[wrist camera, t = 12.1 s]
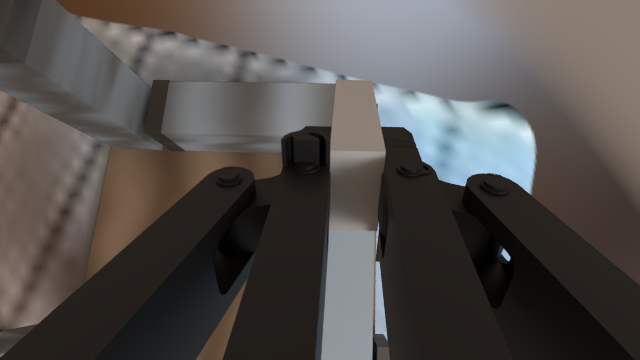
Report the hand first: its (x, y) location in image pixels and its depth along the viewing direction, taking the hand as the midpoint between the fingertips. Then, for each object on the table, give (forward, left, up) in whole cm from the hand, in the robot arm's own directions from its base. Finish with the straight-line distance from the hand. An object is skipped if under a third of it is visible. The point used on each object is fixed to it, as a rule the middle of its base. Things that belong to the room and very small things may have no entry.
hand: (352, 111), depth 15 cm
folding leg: (+9, -10, -10) cm, 17 cm away
